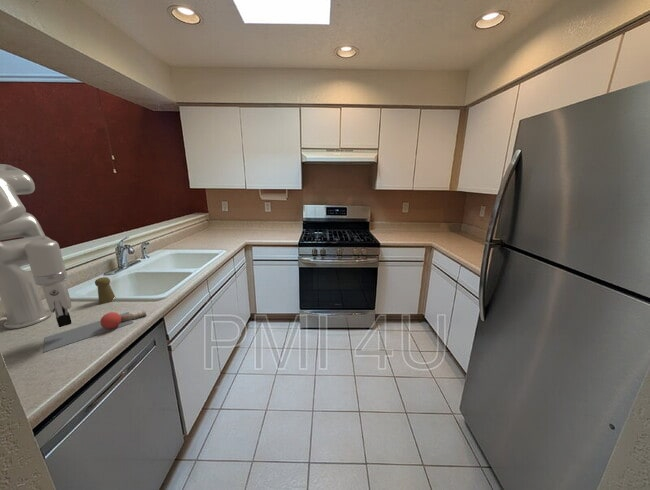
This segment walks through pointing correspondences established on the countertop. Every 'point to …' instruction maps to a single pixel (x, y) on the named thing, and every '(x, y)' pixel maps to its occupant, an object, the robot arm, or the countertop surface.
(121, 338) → the countertop surface
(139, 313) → the pin
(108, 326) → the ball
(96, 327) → the plate
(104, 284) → the cork
